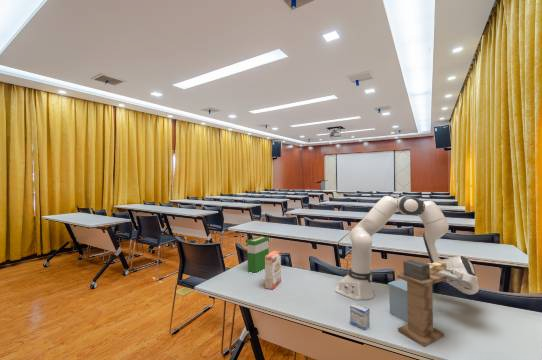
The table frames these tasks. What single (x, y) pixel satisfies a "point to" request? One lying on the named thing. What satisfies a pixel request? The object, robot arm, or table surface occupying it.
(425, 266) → the mallet
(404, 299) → the grey-blue block
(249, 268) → the hardback book
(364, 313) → the medicine box
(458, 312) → the table surface
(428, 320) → the stand
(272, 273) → the cracker box
